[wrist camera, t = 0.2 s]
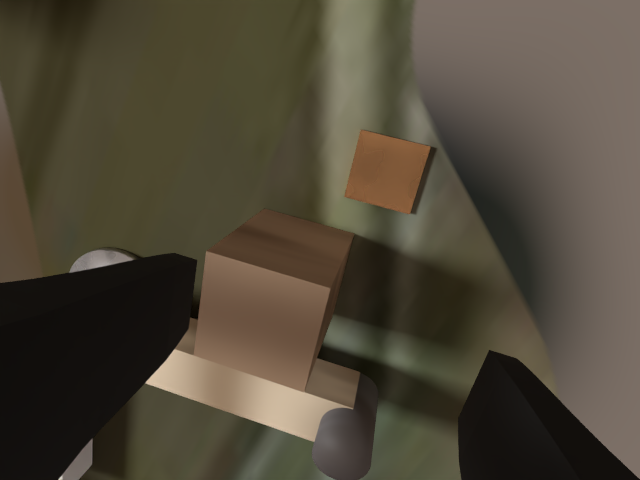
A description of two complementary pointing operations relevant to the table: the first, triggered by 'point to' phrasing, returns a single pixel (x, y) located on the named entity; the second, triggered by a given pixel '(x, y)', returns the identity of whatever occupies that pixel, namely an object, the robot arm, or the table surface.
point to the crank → (286, 404)
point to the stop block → (271, 296)
